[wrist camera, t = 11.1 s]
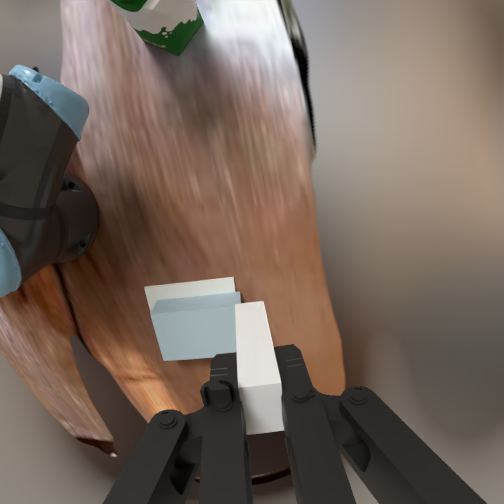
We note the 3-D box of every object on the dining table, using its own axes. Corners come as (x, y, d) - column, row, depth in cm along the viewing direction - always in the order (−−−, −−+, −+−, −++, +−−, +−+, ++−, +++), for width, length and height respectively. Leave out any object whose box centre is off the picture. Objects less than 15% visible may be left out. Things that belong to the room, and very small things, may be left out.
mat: (163, 354, 54) (162, 356, 54) (144, 286, 50) (144, 287, 49) (243, 348, 54) (243, 349, 54) (233, 276, 50) (233, 277, 50)
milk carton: (135, 43, 38) (85, -11, 19) (167, 1, 36) (136, -67, 17) (180, 63, 40) (148, 7, 21) (212, 19, 38) (202, -52, 19)
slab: (246, 337, 53) (168, 344, 53) (239, 291, 51) (157, 300, 50) (247, 353, 49) (163, 360, 48) (240, 305, 46) (150, 314, 45)
